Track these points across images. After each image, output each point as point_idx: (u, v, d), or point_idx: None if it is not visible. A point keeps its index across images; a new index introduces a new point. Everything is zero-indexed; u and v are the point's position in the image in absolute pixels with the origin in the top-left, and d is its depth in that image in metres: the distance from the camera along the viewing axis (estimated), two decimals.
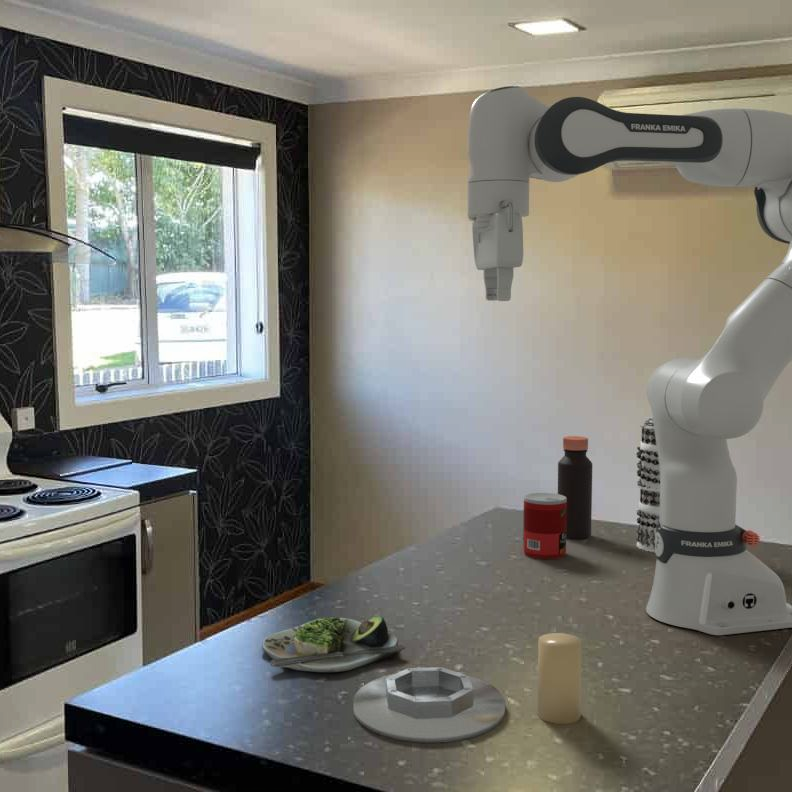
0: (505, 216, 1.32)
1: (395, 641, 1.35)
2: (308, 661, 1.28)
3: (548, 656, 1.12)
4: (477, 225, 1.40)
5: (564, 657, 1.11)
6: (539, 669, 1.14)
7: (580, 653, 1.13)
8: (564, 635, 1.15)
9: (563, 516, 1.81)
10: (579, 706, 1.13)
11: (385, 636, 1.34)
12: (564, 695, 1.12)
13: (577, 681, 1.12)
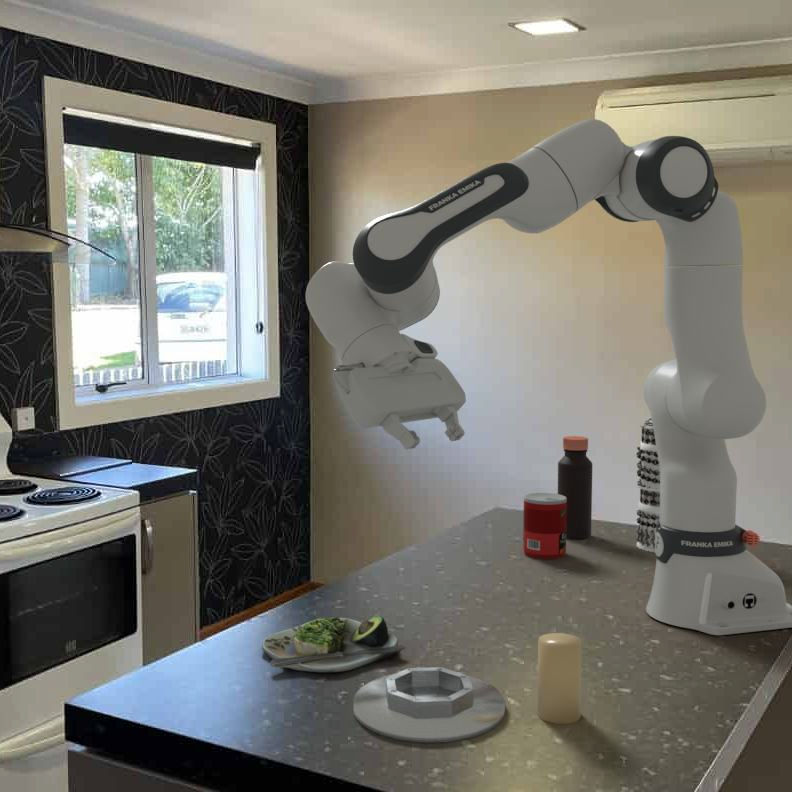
0: None
1: (395, 641, 1.35)
2: (308, 661, 1.28)
3: (548, 656, 1.12)
4: None
5: (564, 657, 1.11)
6: (539, 669, 1.14)
7: (580, 653, 1.13)
8: (564, 635, 1.15)
9: (563, 516, 1.81)
10: (579, 706, 1.13)
11: (385, 636, 1.34)
12: (564, 695, 1.12)
13: (576, 681, 1.12)
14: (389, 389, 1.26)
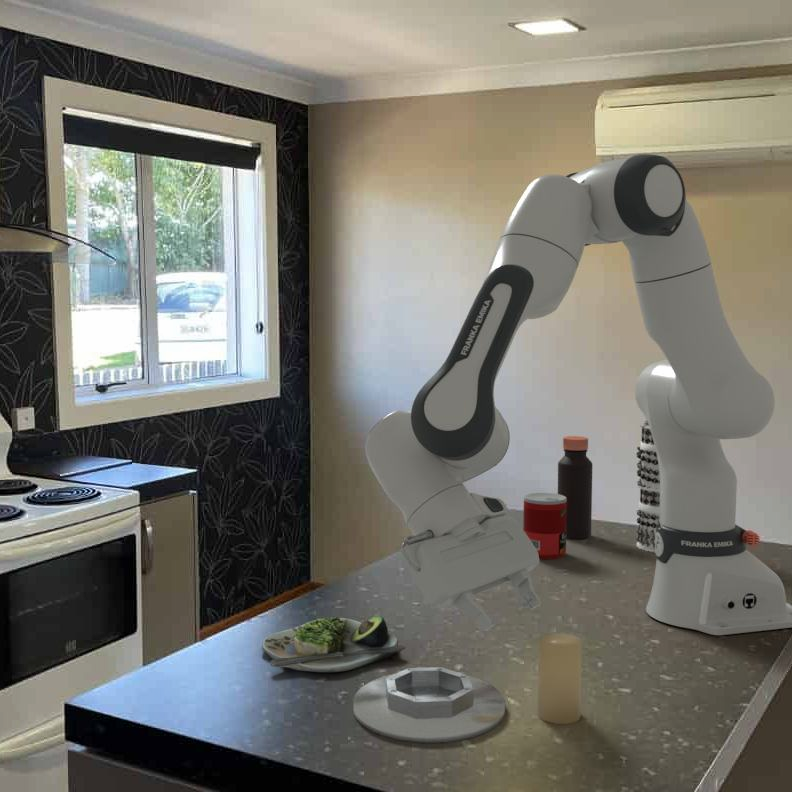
0: None
1: (395, 641, 1.35)
2: (308, 661, 1.28)
3: (548, 656, 1.12)
4: None
5: (564, 657, 1.11)
6: (539, 669, 1.14)
7: (580, 653, 1.13)
8: (564, 635, 1.15)
9: (563, 516, 1.81)
10: (579, 706, 1.13)
11: (385, 636, 1.34)
12: (564, 695, 1.12)
13: (577, 681, 1.12)
14: (461, 563, 1.16)
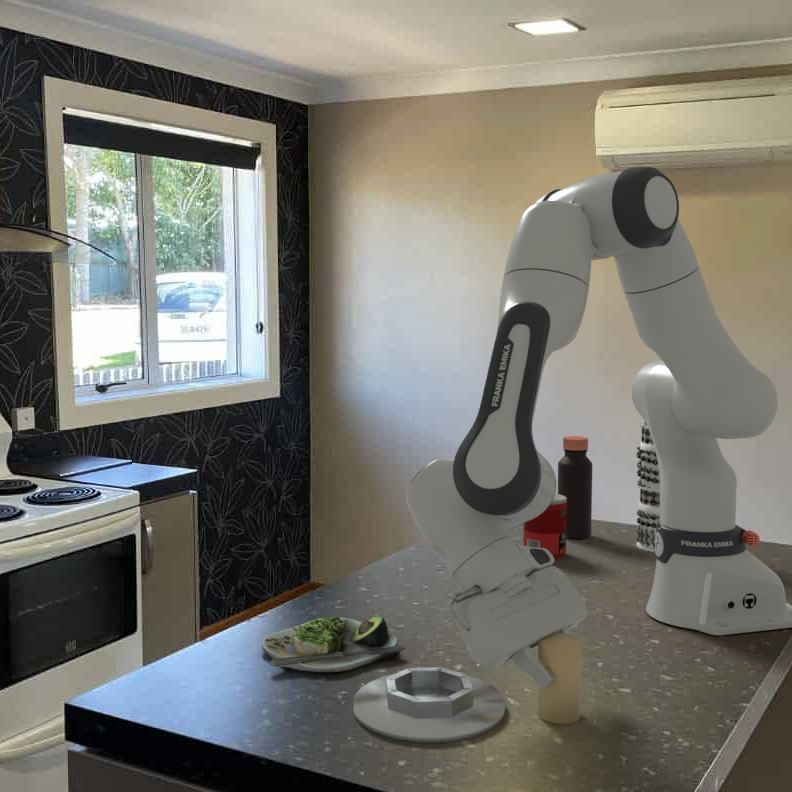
0: None
1: (395, 641, 1.35)
2: (308, 661, 1.28)
3: (548, 656, 1.12)
4: None
5: (564, 657, 1.11)
6: None
7: (580, 653, 1.13)
8: (564, 635, 1.15)
9: (563, 516, 1.81)
10: (580, 706, 1.13)
11: (385, 636, 1.34)
12: (564, 695, 1.12)
13: (577, 681, 1.12)
14: (511, 620, 1.12)
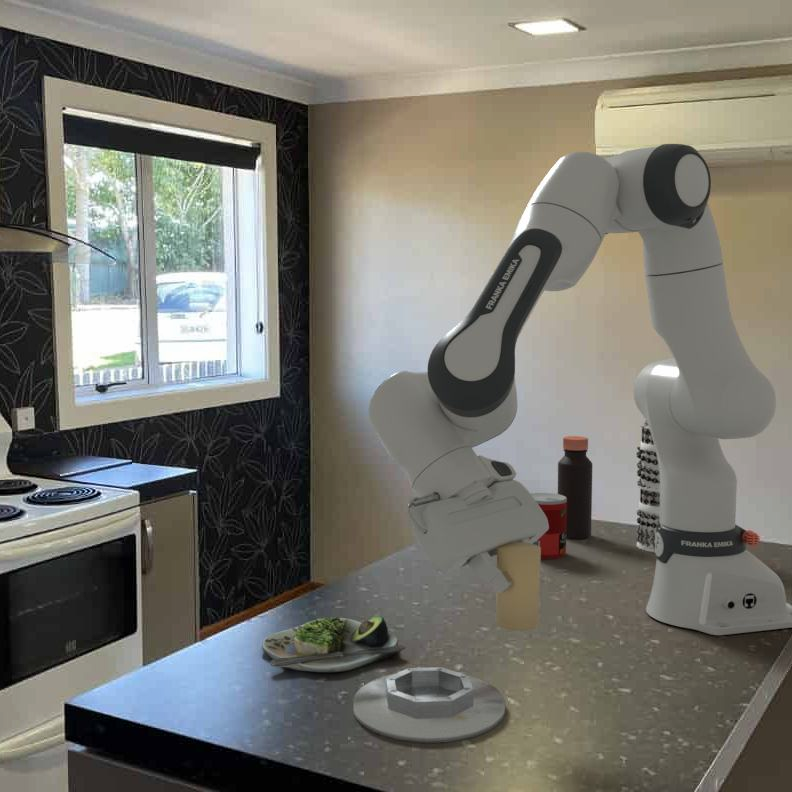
0: None
1: (395, 641, 1.35)
2: (308, 661, 1.28)
3: (506, 561, 1.11)
4: None
5: (522, 562, 1.10)
6: None
7: (539, 559, 1.12)
8: (523, 543, 1.15)
9: (563, 516, 1.81)
10: (538, 614, 1.13)
11: (385, 636, 1.34)
12: (522, 601, 1.11)
13: (535, 587, 1.11)
14: (469, 526, 1.11)
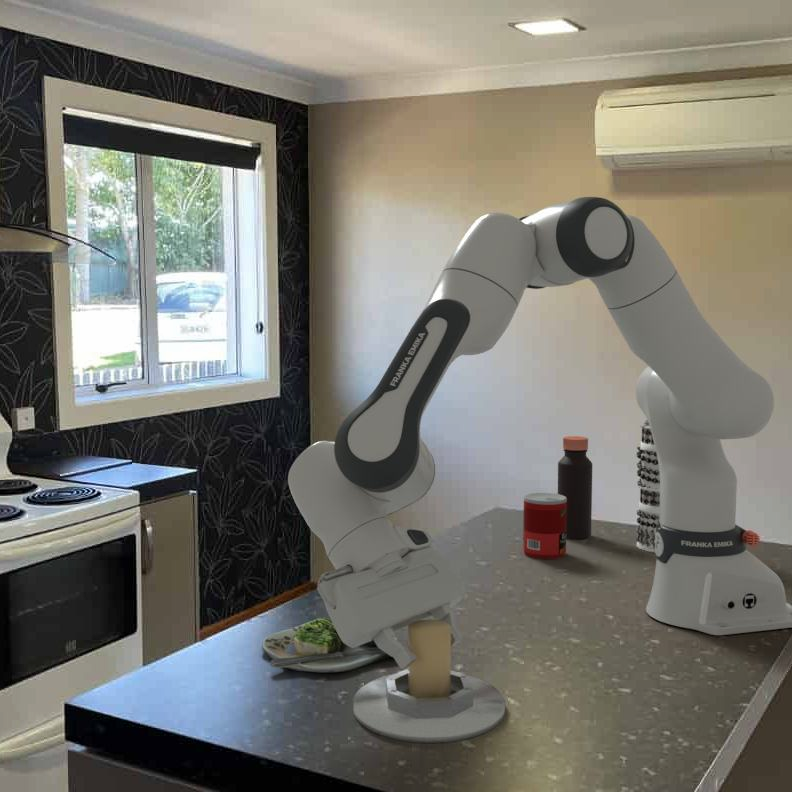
0: None
1: None
2: (308, 661, 1.28)
3: (415, 641, 1.14)
4: None
5: (431, 643, 1.13)
6: None
7: (448, 639, 1.14)
8: (435, 621, 1.17)
9: (563, 516, 1.81)
10: (448, 691, 1.15)
11: None
12: (431, 680, 1.14)
13: (444, 666, 1.14)
14: (379, 599, 1.14)
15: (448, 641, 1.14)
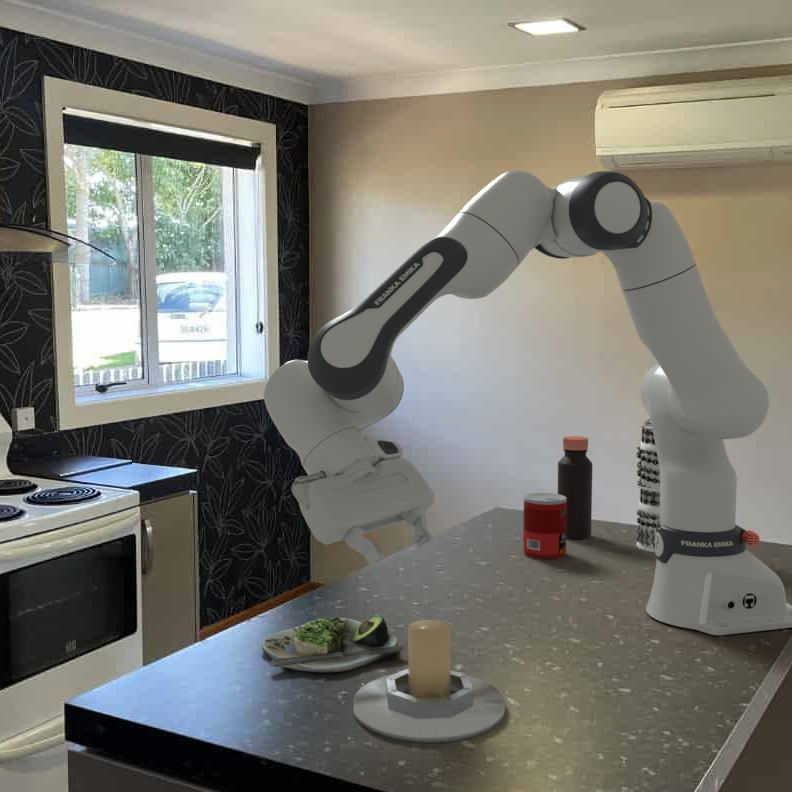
0: None
1: (395, 641, 1.35)
2: (308, 661, 1.28)
3: (415, 641, 1.14)
4: None
5: (431, 643, 1.13)
6: (409, 655, 1.15)
7: (448, 639, 1.14)
8: (435, 621, 1.17)
9: (563, 516, 1.81)
10: (448, 691, 1.15)
11: (385, 636, 1.34)
12: (431, 680, 1.14)
13: (444, 666, 1.14)
14: (351, 500, 1.21)
15: (448, 641, 1.14)
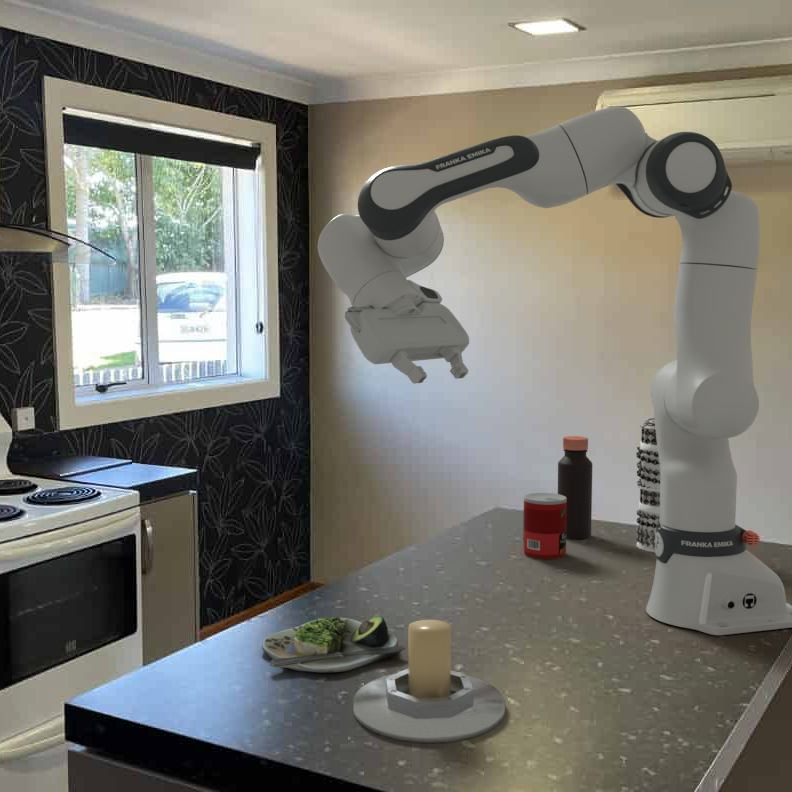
0: None
1: (395, 641, 1.35)
2: (308, 661, 1.28)
3: (415, 641, 1.14)
4: None
5: (431, 643, 1.13)
6: (409, 655, 1.15)
7: (448, 639, 1.14)
8: (435, 621, 1.17)
9: (563, 516, 1.81)
10: (448, 691, 1.15)
11: (385, 636, 1.34)
12: (431, 680, 1.14)
13: (444, 666, 1.14)
14: (397, 329, 1.35)
15: (448, 641, 1.14)
